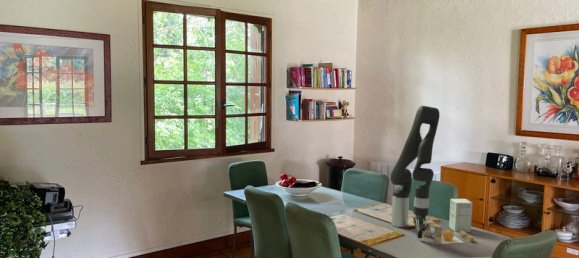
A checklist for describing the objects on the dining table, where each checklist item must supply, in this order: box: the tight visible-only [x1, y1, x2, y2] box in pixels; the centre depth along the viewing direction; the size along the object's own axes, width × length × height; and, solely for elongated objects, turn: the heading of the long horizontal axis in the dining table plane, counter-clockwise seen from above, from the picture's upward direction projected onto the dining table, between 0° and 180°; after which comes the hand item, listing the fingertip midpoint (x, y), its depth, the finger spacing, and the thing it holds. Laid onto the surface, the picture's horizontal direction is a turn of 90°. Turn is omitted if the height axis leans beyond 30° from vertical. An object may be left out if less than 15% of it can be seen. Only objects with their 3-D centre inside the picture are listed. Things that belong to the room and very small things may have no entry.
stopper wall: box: [458, 231, 475, 243], centre depth 244 cm, size 11×2×2 cm, turn 10°
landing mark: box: [431, 234, 465, 245], centre depth 242 cm, size 12×12×1 cm
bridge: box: [422, 218, 443, 246], centre depth 240 cm, size 14×3×9 cm, turn 10°
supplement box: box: [448, 198, 473, 233], centre depth 259 cm, size 10×9×17 cm
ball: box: [442, 229, 454, 241], centre depth 240 cm, size 6×6×6 cm
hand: (419, 237), depth 239 cm, fingers closed
